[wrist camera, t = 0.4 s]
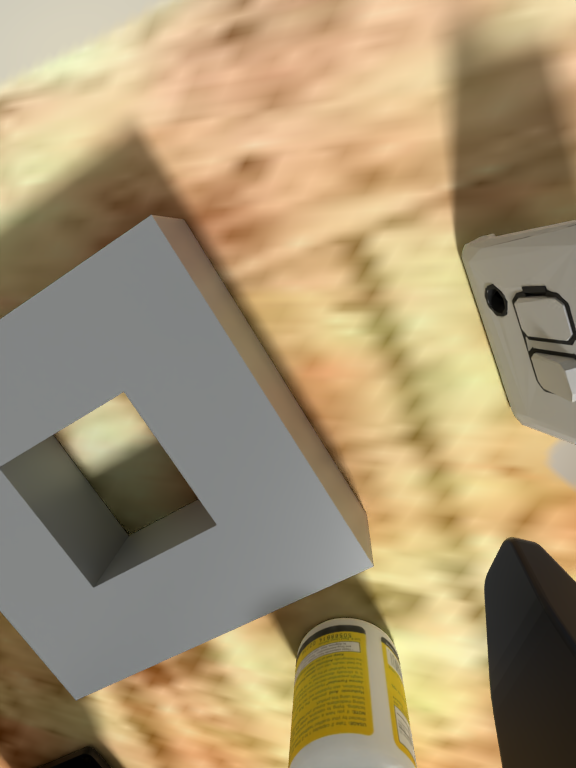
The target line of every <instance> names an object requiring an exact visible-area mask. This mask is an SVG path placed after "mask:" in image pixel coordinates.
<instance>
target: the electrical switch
mask: <svg viewBox="0 0 576 768" xmlns="http://www.w3.org/2000/svg"><path fill="white" fill-rule="evenodd" d="M462 260H463V263H464V266H465V269H466V272H467V275H468V278H469V281H470V285H471V288H472V291H473V294H474V297H475V300H476V303H477V306H478V309H479V312H480V315H481V318H482V321H483V324H484V327H485V330H486V333H487V336H488V339H489V342H490V345H491V348H492V351H493V354H494V357H495V360H496V363H497V367H498V370H499V373H500V376H501V379H502V382H503V385H504V388H505V391H506V394H507V397H508V400H509V403H510V406H511V409H512V412H513V414H514V416H515V417H516V418H517V419H518V420H519V422H520V423H521V424H522V425H525V426H527V427H530V428H533V429H535V430H538V431H541V432H543V433H546V434H548V435H551V436H554V437H556V438H559V439H562V440H564V441H567V442H569V443H572V444H575V445H576V220H572V221H568V222H563V223H558V224H553V225H548V226H543V227H539V228H534V229H529V230H524V231H519V232H514V233H510V234H505V235H500V236H495V234H489V235H484V236H480V237H478V238H477V239H475V240H473V241H471V242H469V243H467V244H465V245H464V247H463V250H462Z"/></svg>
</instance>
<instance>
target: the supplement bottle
mask: <svg viewBox="0 0 576 768" xmlns="http://www.w3.org/2000/svg"><path fill="white" fill-rule="evenodd" d="M288 768H417V765H416V758H415V753H414V747H413V740H412V734H411V729H410V723H409V717H408V711H407V705H406V698H405V692H404V685H403V680H402V673H401V668H400V662H399V657H398V653H397V650H396V648H395V646H394V644H393V642H392V640H391V639H390V638H389V636H388V635H387V634H386V633H385V632H384V631H382V630H381V629H380V628H378V627H377V626H375V625H373V624H371V623H369V622H366V621H363V620H359V619H353V618H337V619H331V620H328V621H325V622H323V623H321V624H319V625H317V626H316V627H314V628H313V629H312V630H310V631H309V632H308V633H307V634H306V636H305V637H304V639H303V640H302V642H301V644H300V647H299V650H298V654H297V660H296V671H295V684H294V699H293V711H292V724H291V738H290V751H289V766H288Z"/></svg>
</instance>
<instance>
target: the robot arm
mask: <svg viewBox="0 0 576 768" xmlns="http://www.w3.org/2000/svg"><path fill="white" fill-rule="evenodd" d="M484 594H485V611H486V628H487V645H488V662H489V679H490V690H491V700H492V707H493V714H494V720H495V726H496V732H497V738H498V744H499V750H500V756H501V762H502V768H576V582H575V581H574V580H573V579H572V578H571V577H570V576H569V575H568V574H567V573H566V572H565V570H564V569H563V568H562V567H561V566H560V565H559V564H558V563H557V562H556V561H555V560H554V559H553V558H552V557H551V556H550V555H549V554H548V553H547V552H546V551H545V550H544V549H543V548H542V547H541V546H540V545H539V544H537V543H535V542H532V541H527V540H523V539H519V538H514V537H510V538H507V539H506V540H505V541H504V542H503V543H502V545H501V547H500V549H499V551H498V553H497V555H496V557H495V559H494V561H493V563H492V565H491V567H490V569H489V571H488V573H487V576H486V579H485V586H484ZM38 768H111V767H110V766H109V765H108V764H107V763H106V762H105V760H104V759H103V758H102V757H101V756H100V755H99V753H98V752H97V751H96V750H95V749H93V748H90V747H86V748H83V749H81V750H78V751H76V752H74V753H71V754H69V755H67V756H64V757H62V758H59V759H57V760H55V761H52V762H50V763H48V764H45V765H43V766H40V767H38Z"/></svg>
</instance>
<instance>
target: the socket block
mask: <svg viewBox="0 0 576 768" xmlns="http://www.w3.org/2000/svg"><path fill="white" fill-rule="evenodd" d="M123 392H124V393H125V394H126V396H127V397H128V398H129V400H130V401H131V403H132V404H133V406H134V407H135V408H136V410H137V411H138V413H139V414H140V416H141V417H142V418H143V420H144V421H145V423H146V424H147V426H148V427H149V428H150V430H151V431H152V433H153V434H154V436H155V437H156V438H157V440H158V441H159V443H160V444H161V446H162V447H163V448H164V450H165V451H166V453H167V454H168V456H169V457H170V458H171V460H172V461H173V463H174V464H175V466H176V467H177V468H178V470H179V471H180V473H181V474H182V476H183V477H184V478H185V480H186V481H187V483H188V484H189V486H190V487H191V489H192V490H193V491H194V493H195V494H196V496H197V497H198V500H196V501H194V502H192V503H190V504H188V505H187V506H185V507H183V508H181V509H179V510H177V511H175V512H173V513H171V514H169V515H168V516H166V517H164V518H162V519H160V520H158V521H156V522H154V523H152V524H150V525H149V526H147V527H145V528H143V529H141V530H139V531H137V532H135V533H133V534H131V535H130V536H128V534H127V533H126V532H125V530H124V529H123V528H122V526H121V525H120V524H119V522H118V521H117V520H116V518H115V517H114V516H113V514H112V513H111V512H110V510H109V509H108V508H107V506H106V505H105V504H104V502H103V501H102V500H101V498H100V497H99V496H98V494H97V493H96V492H95V490H94V489H93V488H92V486H91V485H90V484H89V482H88V481H87V480H86V478H85V477H84V476H83V474H82V473H81V472H80V470H79V469H78V468H77V466H76V465H75V464H74V462H73V461H72V460H71V458H70V457H69V456H68V454H67V453H66V452H65V450H64V449H63V448H62V446H61V445H60V444H59V442H58V441H57V440H56V438H55V437H54V436H53V434H55V433H57V432H58V431H60V430H62V429H63V428H65V427H67V426H68V425H70V424H72V423H73V422H75V421H76V420H78V419H80V418H81V417H83V416H85V415H86V414H88V413H90V412H91V411H93V410H95V409H96V408H98V407H100V406H101V405H103V404H105V403H106V402H108V401H110V400H111V399H113V398H115V397H116V396H118V395H119V394H121V393H123ZM373 566H374V565H373V557H372V550H371V542H370V535H369V527H368V520H367V514H366V513H365V511H364V509H363V508H362V506H361V504H360V503H359V501H358V500H357V498H356V496H355V495H354V493H353V492H352V490H351V488H350V487H349V485H348V483H347V482H346V480H345V479H344V477H343V475H342V474H341V472H340V471H339V469H338V467H337V466H336V464H335V462H334V461H333V459H332V458H331V456H330V454H329V453H328V451H327V450H326V448H325V446H324V445H323V443H322V441H321V440H320V438H319V437H318V435H317V433H316V432H315V430H314V429H313V427H312V425H311V424H310V422H309V421H308V419H307V417H306V416H305V414H304V412H303V411H302V409H301V408H300V406H299V404H298V403H297V401H296V400H295V398H294V396H293V395H292V393H291V391H290V390H289V388H288V387H287V385H286V383H285V382H284V380H283V379H282V377H281V375H280V374H279V372H278V370H277V369H276V367H275V366H274V364H273V362H272V361H271V359H270V358H269V356H268V354H267V353H266V351H265V349H264V348H263V346H262V345H261V343H260V341H259V340H258V338H257V337H256V335H255V333H254V332H253V330H252V328H251V327H250V325H249V324H248V322H247V320H246V319H245V317H244V316H243V314H242V312H241V311H240V309H239V307H238V306H237V304H236V303H235V301H234V299H233V298H232V296H231V295H230V293H229V291H228V290H227V288H226V286H225V285H224V283H223V282H222V280H221V278H220V277H219V275H218V274H217V272H216V270H215V269H214V267H213V265H212V264H211V262H210V261H209V259H208V257H207V256H206V254H205V253H204V251H203V249H202V248H201V246H200V245H199V243H198V241H197V240H196V238H195V236H194V235H193V233H192V232H191V230H190V228H189V227H188V225H187V224H186V222H185V220H184V219H178V218H171V217H164V216H157V215H150V216H149V217H147V218H146V219H145V220H143V221H142V222H140V223H139V224H137V225H136V226H134V227H133V228H132V229H130V230H129V231H127V232H126V233H124V234H123V235H121V236H120V237H119V238H117V239H116V240H114V241H113V242H111V243H110V244H108V245H107V246H105V247H104V248H103V249H101V250H100V251H98V252H97V253H95V254H94V255H92V256H91V257H90V258H88V259H87V260H85V261H84V262H82V263H81V264H79V265H78V266H76V267H75V268H74V269H72V270H71V271H69V272H68V273H66V274H65V275H63V276H62V277H61V278H59V279H58V280H56V281H55V282H53V283H52V284H50V285H49V286H48V287H46V288H45V289H43V290H42V291H40V292H39V293H37V294H36V295H34V296H33V297H32V298H30V299H29V300H27V301H26V302H24V303H23V304H21V305H20V306H19V307H17V308H16V309H14V310H13V311H11V312H10V313H8V314H7V315H5V316H4V317H3V318H1V319H0V611H1V613H2V614H3V615H4V616H5V617H6V618H7V620H8V621H9V622H10V623H11V624H12V626H13V627H14V628H15V629H16V630H17V631H18V633H19V634H20V635H21V636H22V637H23V639H24V640H25V641H26V642H27V643H28V644H29V646H30V647H31V648H32V649H33V650H34V651H35V653H36V654H37V655H38V656H39V657H40V659H41V660H42V661H43V662H44V663H45V664H46V666H47V667H48V668H49V669H50V670H51V672H52V673H53V674H54V675H55V676H56V677H57V679H58V680H59V681H60V682H61V683H62V684H63V686H64V687H65V688H66V689H67V690H68V692H69V693H70V694H71V695H72V696H73V697H74V699H75V700H78V699H80V698H82V697H84V696H87V695H89V694H91V693H93V692H96V691H98V690H100V689H102V688H104V687H107V686H109V685H111V684H113V683H116V682H118V681H120V680H122V679H124V678H127V677H129V676H131V675H133V674H136V673H138V672H140V671H142V670H144V669H147V668H149V667H151V666H153V665H156V664H158V663H160V662H162V661H164V660H167V659H169V658H171V657H173V656H176V655H178V654H180V653H182V652H184V651H187V650H189V649H191V648H193V647H196V646H198V645H200V644H202V643H204V642H207V641H209V640H211V639H213V638H216V637H218V636H220V635H222V634H224V633H227V632H229V631H231V630H233V629H236V628H238V627H240V626H242V625H244V624H247V623H249V622H251V621H253V620H256V619H258V618H260V617H262V616H264V615H267V614H269V613H271V612H273V611H276V610H278V609H280V608H282V607H284V606H287V605H289V604H291V603H293V602H296V601H298V600H300V599H302V598H304V597H307V596H309V595H311V594H313V593H316V592H318V591H320V590H322V589H324V588H327V587H329V586H331V585H333V584H336V583H338V582H340V581H342V580H344V579H347V578H349V577H351V576H353V575H356V574H358V573H360V572H362V571H364V570H367V569H369V568H371V567H373Z"/></svg>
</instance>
